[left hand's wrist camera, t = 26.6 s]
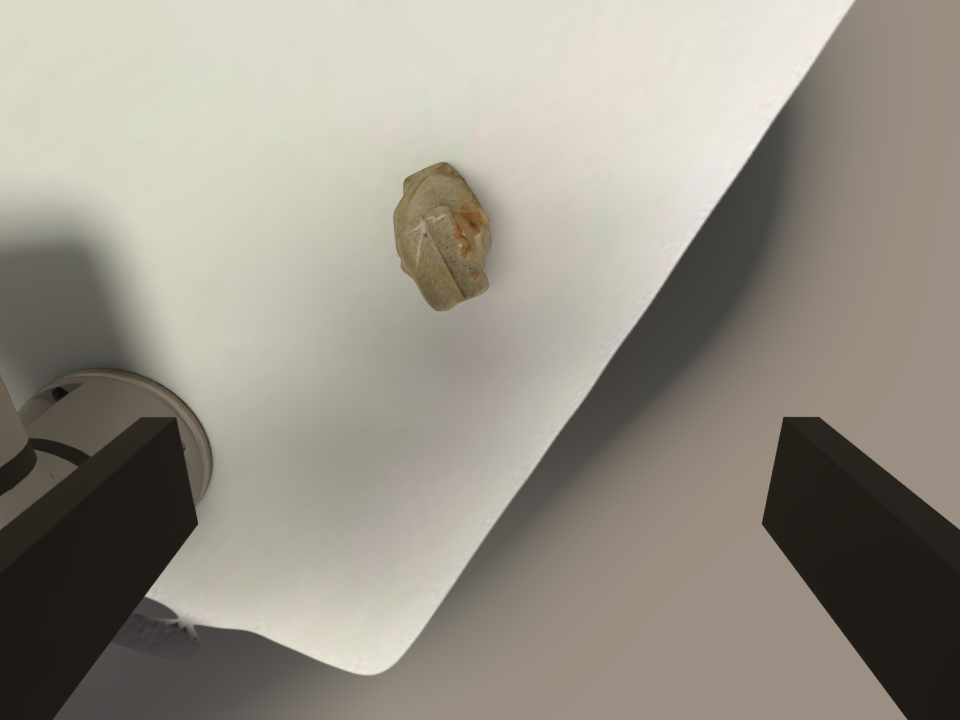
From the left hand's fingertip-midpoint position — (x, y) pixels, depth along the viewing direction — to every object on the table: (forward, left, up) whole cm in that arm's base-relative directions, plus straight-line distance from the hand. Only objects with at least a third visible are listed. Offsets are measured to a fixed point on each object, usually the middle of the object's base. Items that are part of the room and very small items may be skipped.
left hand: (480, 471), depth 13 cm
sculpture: (+1, +3, -33) cm, 33 cm away
